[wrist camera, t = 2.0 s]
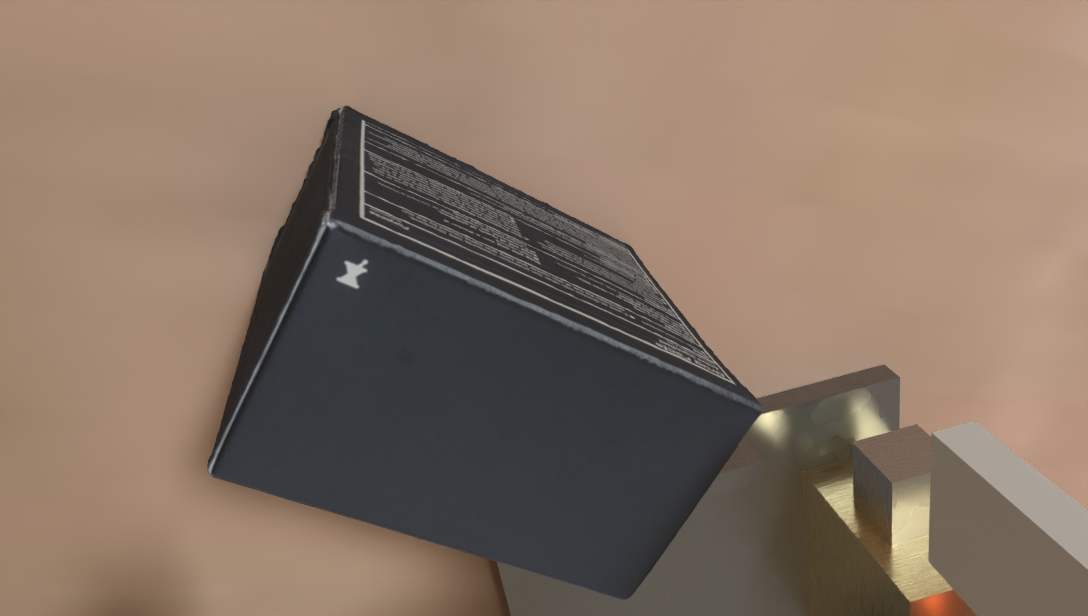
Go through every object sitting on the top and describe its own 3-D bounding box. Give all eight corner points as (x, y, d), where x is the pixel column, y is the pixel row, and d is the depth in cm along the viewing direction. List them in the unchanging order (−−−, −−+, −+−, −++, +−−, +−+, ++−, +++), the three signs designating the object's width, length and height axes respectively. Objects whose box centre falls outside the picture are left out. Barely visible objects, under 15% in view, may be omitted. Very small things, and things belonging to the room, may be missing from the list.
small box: (251, 287, 26) (184, 489, 16) (337, 97, 24) (319, 198, 14) (544, 402, 29) (628, 621, 20) (638, 244, 28) (778, 402, 18)
